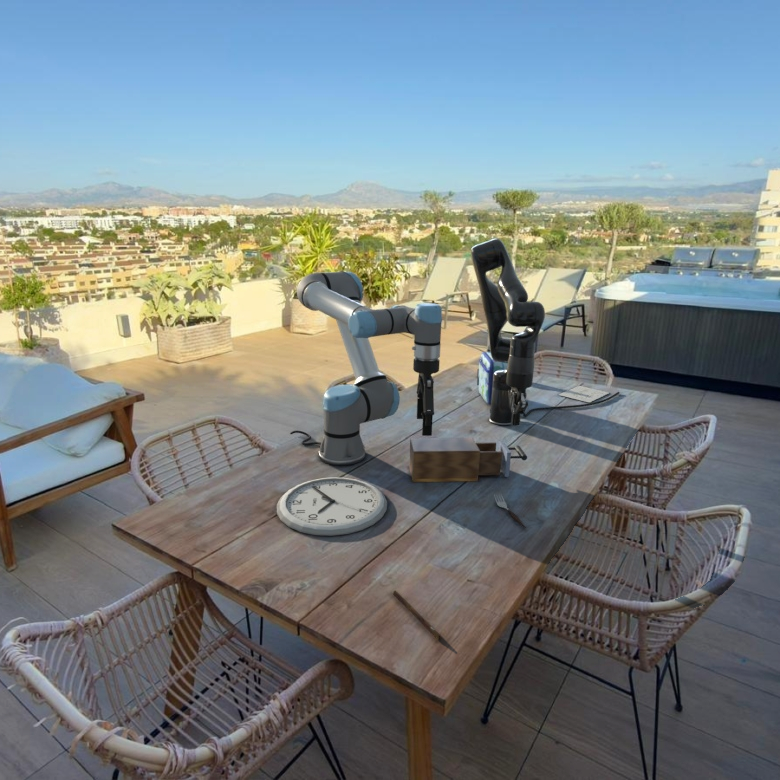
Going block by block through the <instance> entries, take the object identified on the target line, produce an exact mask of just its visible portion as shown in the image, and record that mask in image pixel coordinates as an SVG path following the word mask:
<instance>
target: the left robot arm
mask: <svg viewBox="0 0 780 780" xmlns="http://www.w3.org/2000/svg"><path fill="white" fill-rule="evenodd" d="M363 292H364V287H363V283H362V281H361V280H360V278H359V276H358V275H357V274H356V273H354V272H351V271H344V270H340V271H332V272H331V271H330V272H312V273H309V274H307V275H305V276H304V277H302V279H300V281H299V283H298V285H297V286H296V296H297V299H298V302H299V303H300V304H301V305H302V306H303V307H304V308H306V309H308V310H310V311H313V312H317V311H318V312H320V313H322V314H324V315H326V316H328V317H330V318H332V319H333V320H336V324H337V328H338V330H339V334H340V336H341V339H342V342H343V346H344V349H345V351H346V354H347V357H348V360H349V363H350V366H351V369H352V372H353V375H354V378H355V381H354V383H353V384H351V383H349V384H339V385H334V386H332V387H330V388H328V389H327V390H326V391H325V392H324V394H323V401H322V409H323V437H322V439H321V441H312V442H308V441H310V440H311V439H312V436H311V435H310V434H309V433H308V432H305V431H302V430H292V431H291V432H290V433H289V434H290V435H293V434H302V435H304V436H306V437H307V438H305V439H303V440H301V442H300V443H301V445H302V446H312V445H313V446H314V445H320V446H319V449H318V458H319V460H320V461H321V462H322V463H325V464H327V465H331V466H340V467H341V466H342V467H343V466H350V465H355V464H358V463H360V462H362V461H363V460H364V459H365V458H366V446H365V444H364V441H363V439H362V437H361V432H360V431H361V430H360V429H361V424H364V423H369V422H372V421H377V420H380V419H386V418H389V417H392V416H393V415H395V413H396V412H397V411H398V409H399V406H400V402H401V401H400V399H401V397H400V391H399V388H398V386H397V385H396V384H395V383H394V382H392V381H388V379H387V375H386V374H384V373H382V372H380V369H379V365H378V363H377V360H376V357H375V354H374V351H373V348H372V345H371V342H370V339H369V338H374V337H381V336H387V335H388V336H389V335H397V334H410V335H413V337H414V340H413V345H414V346H412V347H411V351H413V356H414V358H413V367H412V370H413V372H415V373H417V374H418V376H417V387H416V394H417V395H416V397H417V401H416V419H417V420H422V425H421V426H422V428H421V436H423V437H427V436H429V437H431V436H432V435H433V417H434V415H435V403H434V402H435V401H434V400H435V399H434V383H435V380H434V378H433V376H432V374H437V373H438V372H439V371H440V358H441V345H442V344H441V338H442V322H443V312H442V306H441V305H440V304H437V303H430V302H421V303H417V304H416V305H415V307H409V306H407V305H403V304H402V305H399V304H396V305H392V306H391V307H388V308H378V309H373V308H371V307H368V306H366V305H363V304H362V301H363V298H364V293H363Z"/></svg>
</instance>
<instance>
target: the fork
mask: <svg viewBox="0 0 780 780" xmlns="http://www.w3.org/2000/svg"><path fill="white" fill-rule="evenodd" d="M497 494H498V495H497ZM493 497H494V499H495V503H496V505H497V506H498V507H499V508H502V509H505V510H507V512H508V514H509V515H510V517H511V518H513V519H514V521H516V522H517V523H518V524H519V525H521V526H522V527H523V528H524V529H526V525H524V523H523V522H522V521H521V520H520V518H519V517H518V516H517V515H516V514H515V513H514V512H513V511H511V509H509V508H508V504H507V502H506V501H505V499H504V497H503V495H502V493H499V492H498V493H495V494H493Z"/></svg>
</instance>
